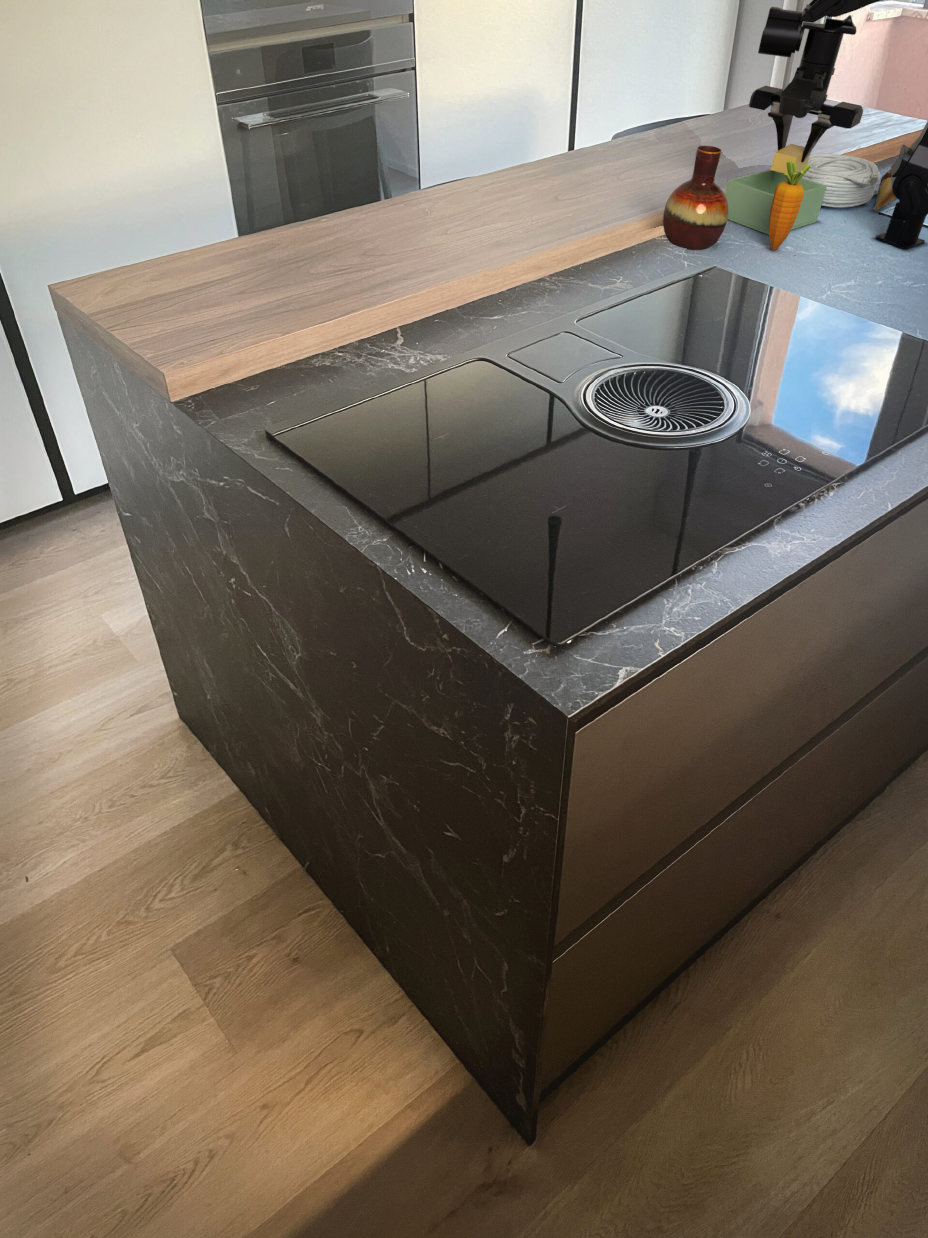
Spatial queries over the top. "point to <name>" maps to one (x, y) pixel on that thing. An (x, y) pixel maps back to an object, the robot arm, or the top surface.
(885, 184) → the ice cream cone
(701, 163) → the vase
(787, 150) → the butter block
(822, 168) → the cable
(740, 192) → the storage bin
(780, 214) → the carrot
